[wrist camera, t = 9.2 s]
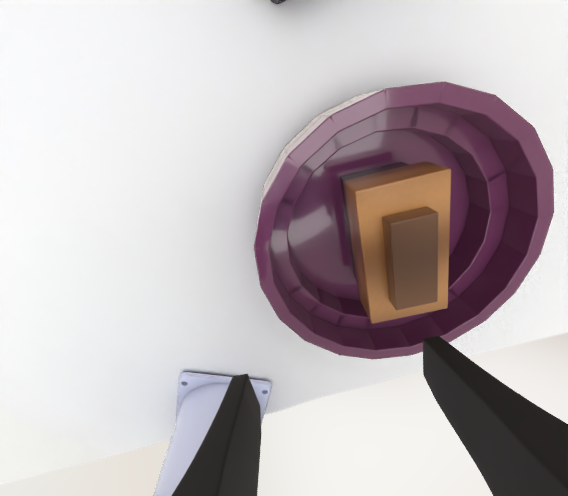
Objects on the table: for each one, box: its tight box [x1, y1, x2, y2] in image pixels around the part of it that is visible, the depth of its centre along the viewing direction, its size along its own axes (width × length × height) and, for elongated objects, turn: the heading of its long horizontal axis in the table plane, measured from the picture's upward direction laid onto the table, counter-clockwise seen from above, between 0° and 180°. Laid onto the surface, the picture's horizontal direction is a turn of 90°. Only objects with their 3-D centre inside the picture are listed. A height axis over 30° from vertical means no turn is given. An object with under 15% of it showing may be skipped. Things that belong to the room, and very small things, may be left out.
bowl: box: [254, 82, 554, 359], centre depth 17 cm, size 16×16×4 cm
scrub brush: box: [340, 161, 451, 324], centre depth 16 cm, size 8×4×6 cm, turn 13°
